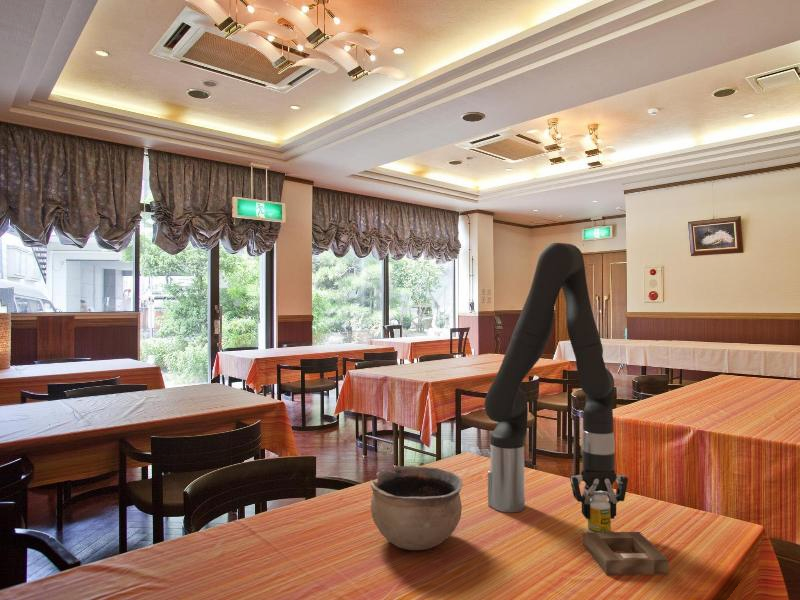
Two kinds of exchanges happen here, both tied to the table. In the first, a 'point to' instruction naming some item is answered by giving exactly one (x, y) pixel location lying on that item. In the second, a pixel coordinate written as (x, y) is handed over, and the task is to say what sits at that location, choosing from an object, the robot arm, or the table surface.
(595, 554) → the socket holder
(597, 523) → the supplement bottle
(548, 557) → the table surface
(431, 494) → the ceramic bowl
